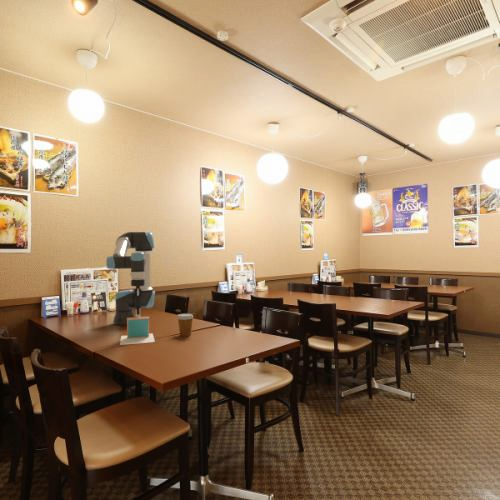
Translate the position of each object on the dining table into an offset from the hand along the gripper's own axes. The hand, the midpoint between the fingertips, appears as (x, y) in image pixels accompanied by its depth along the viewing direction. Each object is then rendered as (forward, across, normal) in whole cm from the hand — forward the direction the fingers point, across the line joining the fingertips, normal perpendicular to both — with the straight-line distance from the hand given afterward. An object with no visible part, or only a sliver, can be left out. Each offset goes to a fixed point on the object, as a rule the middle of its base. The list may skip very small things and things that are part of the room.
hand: (138, 319), depth 202 cm
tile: (+10, -1, 0) cm, 10 cm away
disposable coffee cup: (+11, 0, +27) cm, 29 cm away
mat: (+11, +3, 0) cm, 11 cm away
